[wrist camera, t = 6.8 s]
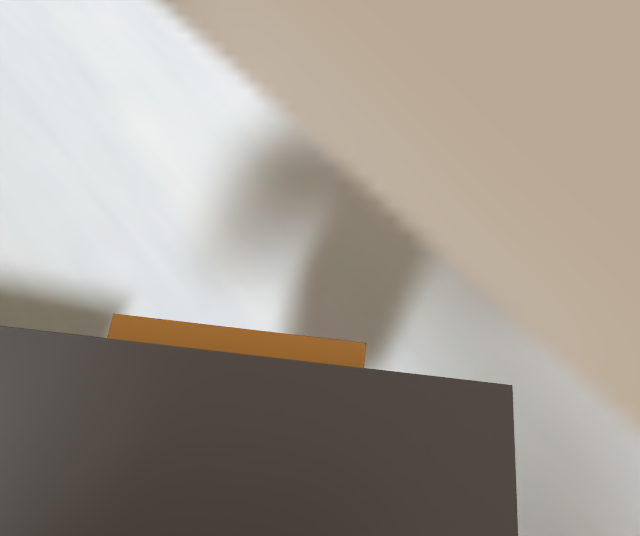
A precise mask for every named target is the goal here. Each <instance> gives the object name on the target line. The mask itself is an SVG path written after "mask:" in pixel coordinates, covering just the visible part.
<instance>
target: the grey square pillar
mask: <svg viewBox="0 0 640 536" xmlns="http://www.w3.org/2000/svg"><path fill="white" fill-rule="evenodd" d="M365 347H366V343H360V342H352V341H343V340H335V339H326V338H317V337H309V336H300V335H292V334H283V333H275V332H266V331H257V330H249V329H240V328H232V327H223V326H215V325H206V324H198V323H189V322H180V321H172V320H163V319H155V318H146V317H138V316H129V315H121V314H113V318H112V321H111V325H110V329H109V332H108V336H107V338H100V337H92V336H83V335H75V334H66V333H57V332H49V331H40V330H32V329H23V328H14V327H6V326H0V536H518V522H517V496H516V470H515V443H514V417H513V391H512V385H505V384H497V383H488V382H479V381H471V380H462V379H454V378H445V377H436V376H428V375H419V374H410V373H402V372H393V371H385V370H376V369H367V368H364V360H365Z"/></svg>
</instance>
